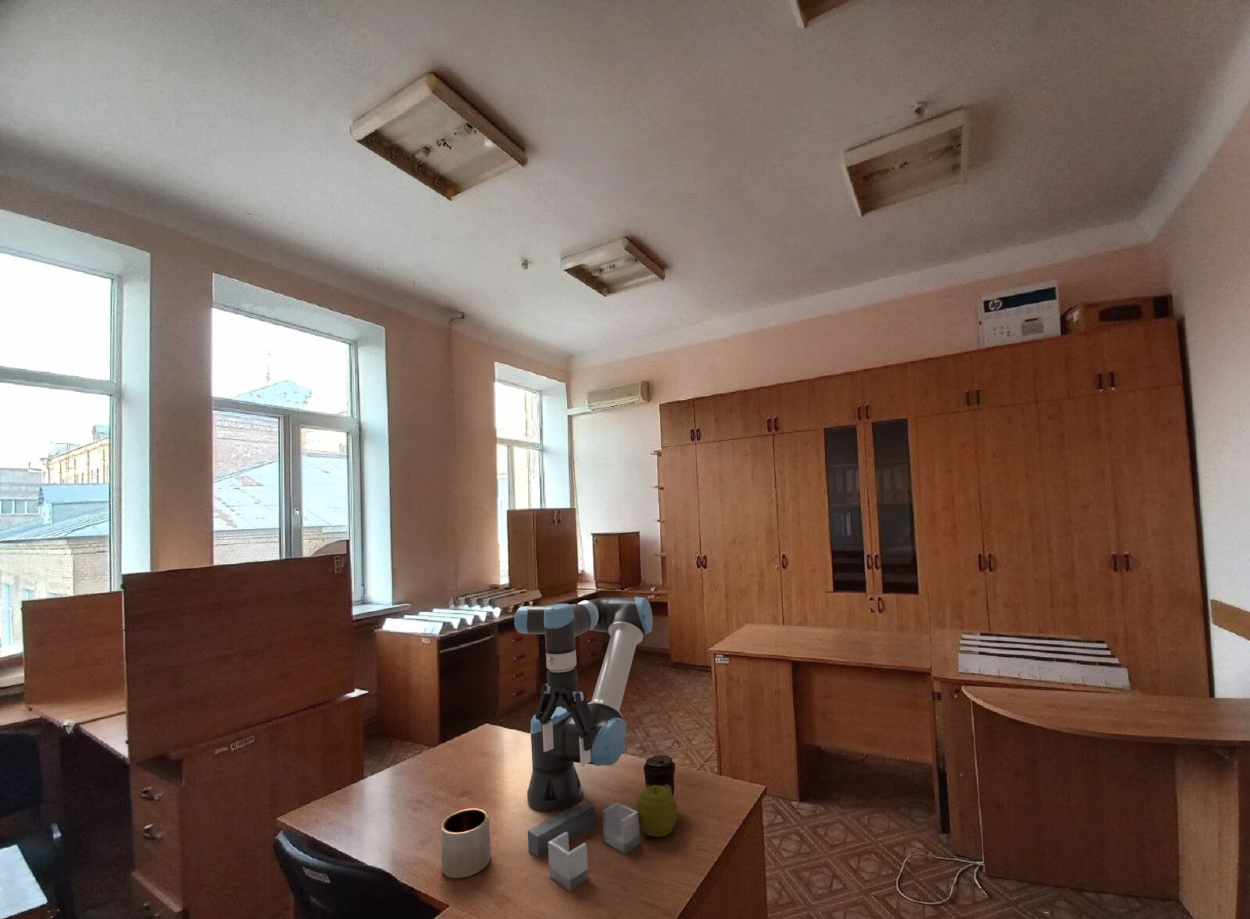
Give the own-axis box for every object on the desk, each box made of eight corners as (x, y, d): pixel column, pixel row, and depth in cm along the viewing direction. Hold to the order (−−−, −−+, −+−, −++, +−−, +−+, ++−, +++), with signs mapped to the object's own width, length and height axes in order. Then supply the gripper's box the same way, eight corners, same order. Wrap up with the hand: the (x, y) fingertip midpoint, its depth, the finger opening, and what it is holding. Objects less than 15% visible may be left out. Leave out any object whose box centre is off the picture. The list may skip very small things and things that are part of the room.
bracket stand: (549, 876, 115) (547, 842, 116) (619, 832, 130) (617, 802, 131) (570, 891, 110) (568, 855, 111) (640, 843, 125) (638, 812, 125)
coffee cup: (676, 823, 132) (672, 768, 133) (643, 822, 134) (640, 767, 135) (680, 804, 140) (676, 753, 142) (649, 803, 142) (645, 752, 143)
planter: (448, 853, 126) (447, 810, 127) (494, 847, 127) (492, 805, 128) (435, 883, 115) (434, 836, 116) (486, 877, 116) (484, 830, 117)
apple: (638, 822, 134) (635, 776, 135) (677, 820, 133) (673, 774, 135) (638, 846, 124) (635, 796, 125) (679, 844, 123) (676, 794, 125)
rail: (528, 853, 124) (527, 830, 125) (585, 821, 136) (584, 800, 136) (538, 860, 121) (537, 836, 122) (595, 827, 133) (594, 806, 134)
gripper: (519, 665, 138) (523, 750, 136) (585, 679, 122) (591, 776, 120) (541, 658, 144) (545, 739, 142) (607, 671, 128) (613, 763, 126)
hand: (566, 756), depth 131 cm, fingers open, 13 cm apart
